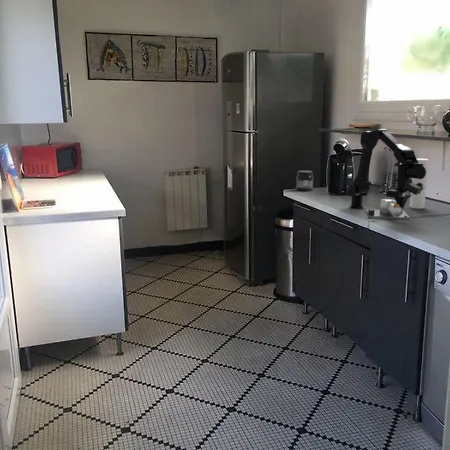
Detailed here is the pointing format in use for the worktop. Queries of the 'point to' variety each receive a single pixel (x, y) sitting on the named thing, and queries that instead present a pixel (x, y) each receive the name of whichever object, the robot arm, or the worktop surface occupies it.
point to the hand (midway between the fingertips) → (401, 210)
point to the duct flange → (385, 215)
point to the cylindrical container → (419, 199)
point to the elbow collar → (390, 207)
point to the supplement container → (304, 181)
